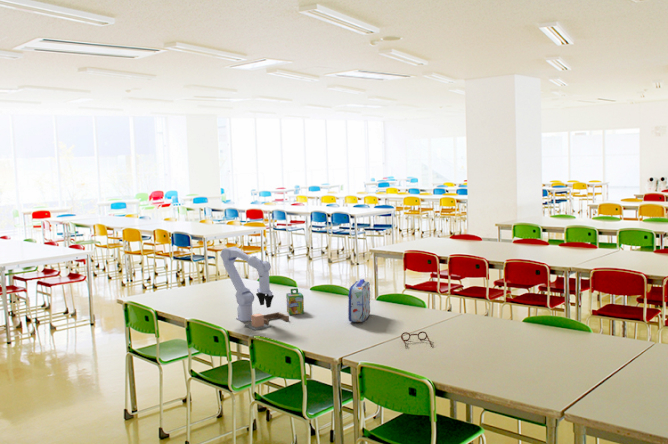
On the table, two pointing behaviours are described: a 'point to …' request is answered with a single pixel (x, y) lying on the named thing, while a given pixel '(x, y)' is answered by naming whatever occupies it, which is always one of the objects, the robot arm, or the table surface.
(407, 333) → the glasses
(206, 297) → the table surface
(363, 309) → the lunch box
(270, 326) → the slate mat
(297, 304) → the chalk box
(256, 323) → the terracotta block
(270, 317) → the walnut stall
